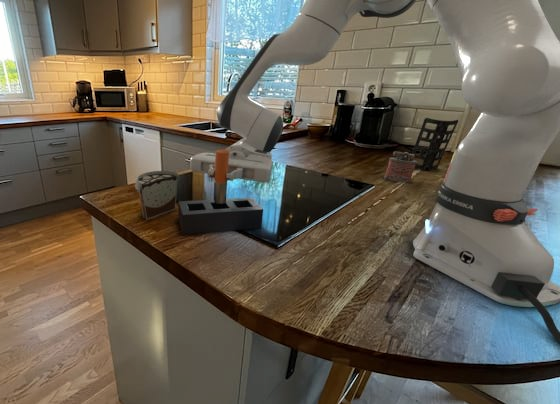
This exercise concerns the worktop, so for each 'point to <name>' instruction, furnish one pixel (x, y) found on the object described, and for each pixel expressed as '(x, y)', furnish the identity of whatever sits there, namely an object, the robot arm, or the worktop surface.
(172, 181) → the food container
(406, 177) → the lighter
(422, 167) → the holder
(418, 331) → the worktop surface
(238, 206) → the pen holder
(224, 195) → the orange cylinder
